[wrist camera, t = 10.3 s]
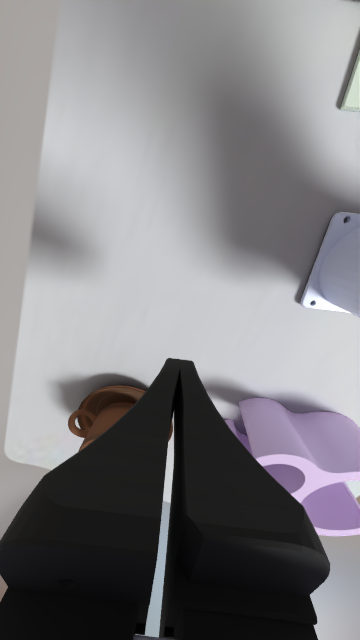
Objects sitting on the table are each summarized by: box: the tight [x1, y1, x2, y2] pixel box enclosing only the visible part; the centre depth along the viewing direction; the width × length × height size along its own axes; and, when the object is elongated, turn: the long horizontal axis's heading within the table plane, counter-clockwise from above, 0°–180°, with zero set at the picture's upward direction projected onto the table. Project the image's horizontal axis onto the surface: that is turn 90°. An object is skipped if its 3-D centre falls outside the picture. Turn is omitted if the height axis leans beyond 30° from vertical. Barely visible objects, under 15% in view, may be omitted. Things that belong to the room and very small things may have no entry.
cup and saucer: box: [68, 386, 173, 451], centre depth 24 cm, size 12×12×6 cm
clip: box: [224, 398, 360, 536], centre depth 24 cm, size 20×12×7 cm, turn 64°
